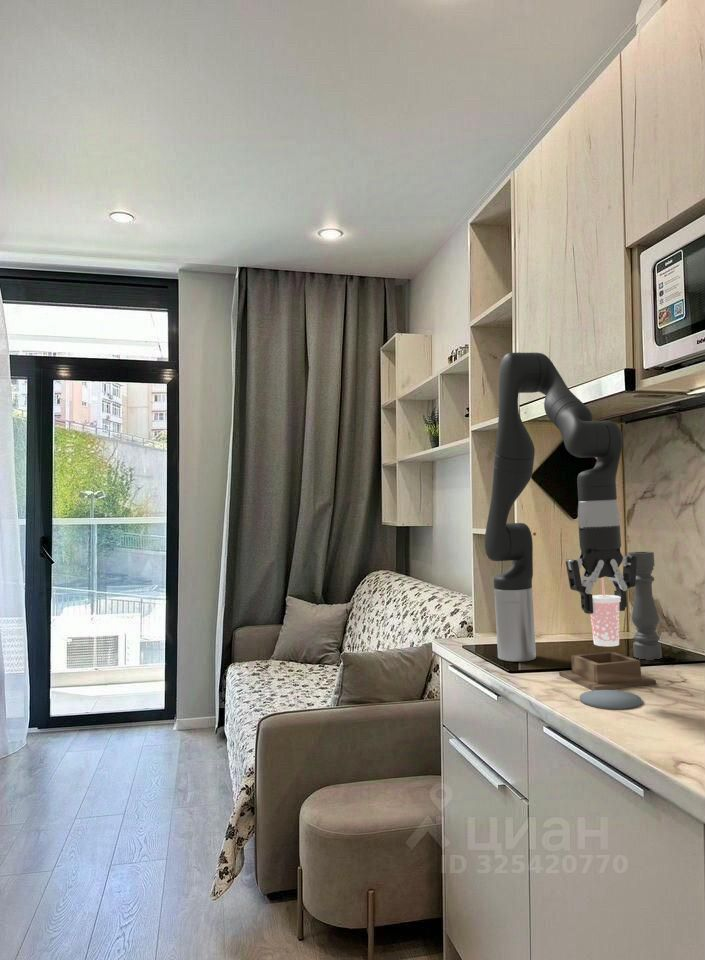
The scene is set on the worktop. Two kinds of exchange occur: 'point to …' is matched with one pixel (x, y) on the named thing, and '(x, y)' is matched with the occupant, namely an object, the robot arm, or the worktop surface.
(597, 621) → the beverage cup
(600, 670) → the stepped square tray
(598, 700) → the slate coaster
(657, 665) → the worktop surface
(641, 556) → the candle holder
